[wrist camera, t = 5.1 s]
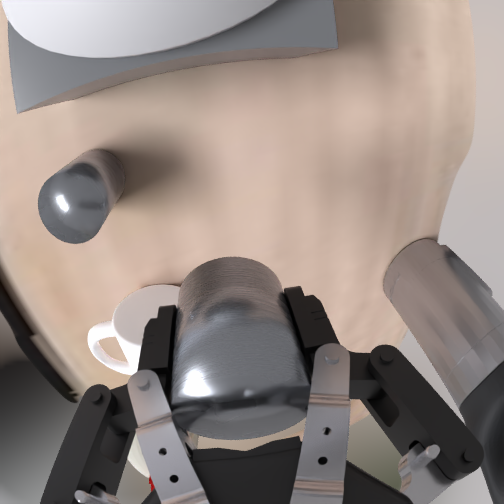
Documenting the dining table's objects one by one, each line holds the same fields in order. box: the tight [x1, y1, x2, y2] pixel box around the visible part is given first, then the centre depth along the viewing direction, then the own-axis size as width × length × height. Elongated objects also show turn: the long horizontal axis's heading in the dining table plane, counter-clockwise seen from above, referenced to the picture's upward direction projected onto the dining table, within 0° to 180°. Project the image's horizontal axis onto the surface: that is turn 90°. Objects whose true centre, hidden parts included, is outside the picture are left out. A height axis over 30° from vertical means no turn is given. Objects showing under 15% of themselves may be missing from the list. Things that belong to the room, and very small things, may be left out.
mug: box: [88, 284, 180, 375], centre depth 26 cm, size 12×10×8 cm
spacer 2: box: [170, 257, 312, 440], centre depth 11 cm, size 5×5×6 cm
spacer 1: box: [38, 149, 125, 244], centre depth 18 cm, size 5×5×6 cm
